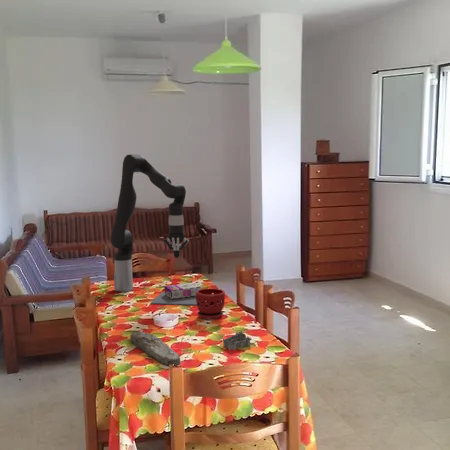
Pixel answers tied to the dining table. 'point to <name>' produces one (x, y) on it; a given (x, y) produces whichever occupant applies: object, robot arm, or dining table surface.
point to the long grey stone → (155, 348)
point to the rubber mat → (174, 300)
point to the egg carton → (236, 341)
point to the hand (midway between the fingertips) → (177, 257)
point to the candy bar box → (181, 290)
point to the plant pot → (210, 303)
